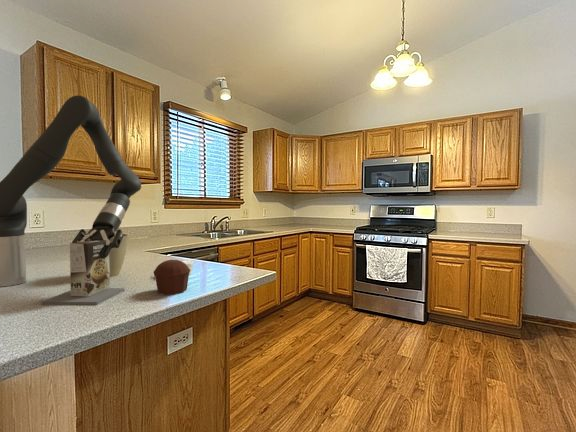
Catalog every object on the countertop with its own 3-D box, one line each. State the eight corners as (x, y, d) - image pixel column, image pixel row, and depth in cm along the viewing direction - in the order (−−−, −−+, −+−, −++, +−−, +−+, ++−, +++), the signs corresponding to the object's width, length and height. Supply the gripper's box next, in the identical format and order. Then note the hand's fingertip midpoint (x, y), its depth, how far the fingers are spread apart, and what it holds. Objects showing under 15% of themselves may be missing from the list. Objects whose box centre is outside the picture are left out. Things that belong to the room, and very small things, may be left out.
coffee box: (88, 297, 91) (87, 243, 90) (69, 296, 92) (68, 242, 91) (111, 288, 100) (109, 239, 99) (93, 287, 101) (92, 239, 100)
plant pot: (76, 278, 117) (75, 236, 117) (110, 270, 132) (109, 233, 131) (106, 281, 113) (105, 238, 112) (138, 272, 127) (137, 234, 126)
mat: (41, 304, 87) (41, 301, 87) (76, 290, 101) (76, 288, 101) (97, 304, 87) (97, 301, 87) (124, 290, 101) (124, 288, 101)
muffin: (147, 291, 100) (146, 260, 100) (178, 284, 109) (178, 256, 108) (165, 298, 92) (164, 265, 92) (197, 290, 101) (197, 260, 100)
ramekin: (184, 270, 130) (183, 258, 130) (199, 274, 123) (199, 261, 123) (158, 275, 122) (158, 262, 122) (173, 280, 115) (173, 266, 115)
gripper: (84, 211, 104) (59, 250, 93) (125, 211, 103) (105, 250, 92) (94, 225, 109) (72, 263, 98) (134, 225, 109) (116, 264, 98)
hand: (88, 257), depth 95 cm, fingers open, 8 cm apart
